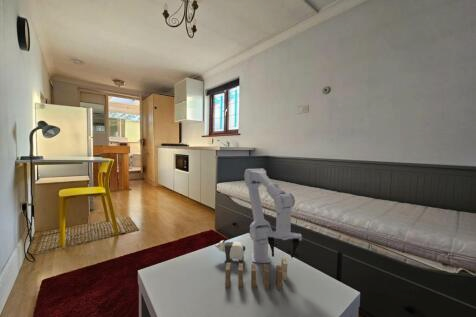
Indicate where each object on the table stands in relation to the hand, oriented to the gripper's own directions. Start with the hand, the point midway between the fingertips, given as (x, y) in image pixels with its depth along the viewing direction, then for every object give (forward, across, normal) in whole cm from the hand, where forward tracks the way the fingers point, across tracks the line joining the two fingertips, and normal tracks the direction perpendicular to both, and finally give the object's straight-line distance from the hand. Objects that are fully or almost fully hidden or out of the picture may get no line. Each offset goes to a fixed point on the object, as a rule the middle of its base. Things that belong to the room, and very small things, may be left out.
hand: (282, 255), depth 81 cm
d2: (+10, -17, -4) cm, 20 cm away
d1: (+10, -22, -4) cm, 24 cm away
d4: (+10, -7, -4) cm, 13 cm away
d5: (+10, -2, -4) cm, 11 cm away
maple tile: (+10, +1, +2) cm, 10 cm away
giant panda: (+10, -22, +12) cm, 27 cm away
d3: (+10, -12, -4) cm, 16 cm away
